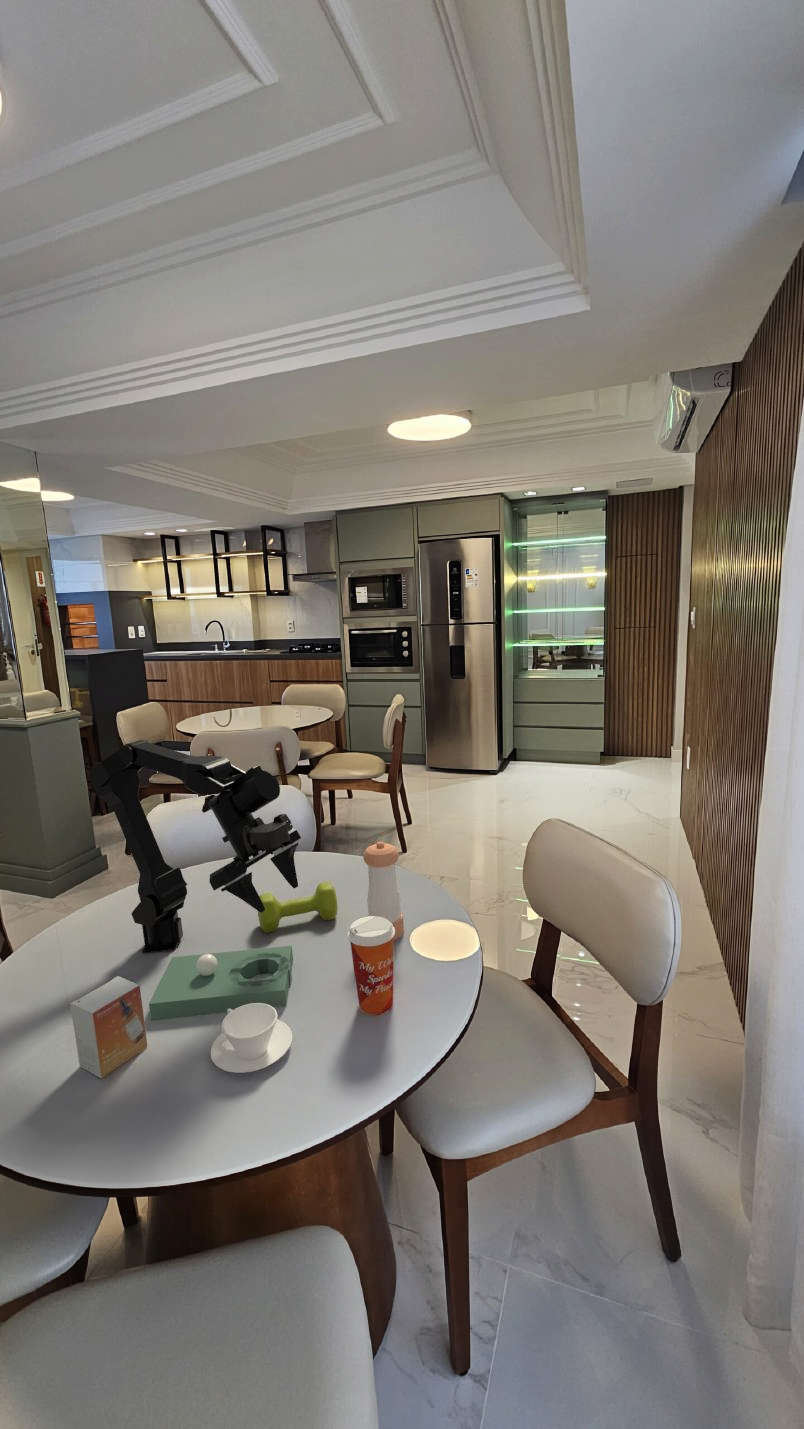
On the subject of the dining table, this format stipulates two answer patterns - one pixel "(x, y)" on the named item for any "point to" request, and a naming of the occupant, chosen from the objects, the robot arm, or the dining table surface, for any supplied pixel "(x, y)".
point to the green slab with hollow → (223, 983)
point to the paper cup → (373, 963)
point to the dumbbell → (298, 907)
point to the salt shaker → (384, 885)
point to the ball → (206, 965)
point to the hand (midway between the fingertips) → (280, 899)
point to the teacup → (250, 1039)
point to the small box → (109, 1026)
